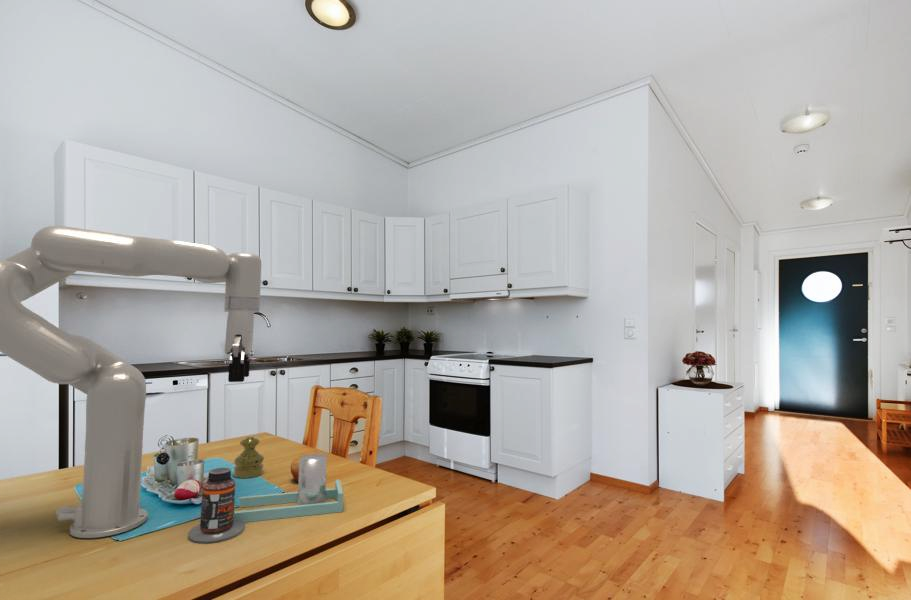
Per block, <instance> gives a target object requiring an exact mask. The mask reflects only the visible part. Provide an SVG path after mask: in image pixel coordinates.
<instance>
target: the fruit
mask: <svg viewBox="0 0 911 600" xmlns="http://www.w3.org/2000/svg"><path fill="white" fill-rule="evenodd" d="M309 454H317V453H316V452H304V453H301V454H299V456H296V458H294V459H293V460H292V461H291V464H290V472H291V476H292V477H293V478H294V480H295V481H297V482H299V458H300V457H302V456H304V455H309Z"/></svg>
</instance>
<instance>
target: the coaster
mask: <svg viewBox="0 0 911 600" xmlns="http://www.w3.org/2000/svg"><path fill="white" fill-rule="evenodd" d="M245 529H246V522H244V521H242V520H234V521H233V525H232V527H231V528H229V529H228V530H226V531H223V532H219V533H204V532H202V531H201V530H200V523H198V524H197V525H194V526H193V527H192V528H191V529H190V530H189V531H188V536H187V537H188V540H189V541H190V542H193V543H195V544H215V543H222V542H226V541H228V540H232V539H233V538H236V537H238V536H239V535H242V533H243V532H244V531H245Z"/></svg>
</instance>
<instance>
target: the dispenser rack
mask: <svg viewBox="0 0 911 600" xmlns="http://www.w3.org/2000/svg"><path fill="white" fill-rule="evenodd" d="M334 483H335V484H334V485H335V486H334V487H335V488H326V495H325V500H332V499H334V500H335V499H336V500H335V501H327V502H326V501H325V503H316V504H306V505H298V504H296V505H289V506H278V507H277V506H275V507H268V508H267V507H266V508H258V509H257V508H256V509H247V510H238V511H235V510H234V512H235V513H234V520H242V521H244V522H245V523H248V522H258V521H267V520H268V521H269V520H276V519H288V518H294V517H295V518H296V517H304V516H307V517H308V516H314V515H325V514H333V513H342V512H343V510H344V509H343V505H344V493H343V487H342V483H341V480H340V479H335V482H334ZM288 503H289V504H291V503H298V491H291V492H282V493H281V492H280V493H269V494H260V495H259V494H258V495H257V494H256V495H244V496H239V498H238V508H249V507H259V506H260V507H261V506H269V505H279V504H282V505H283V504H288Z"/></svg>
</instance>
